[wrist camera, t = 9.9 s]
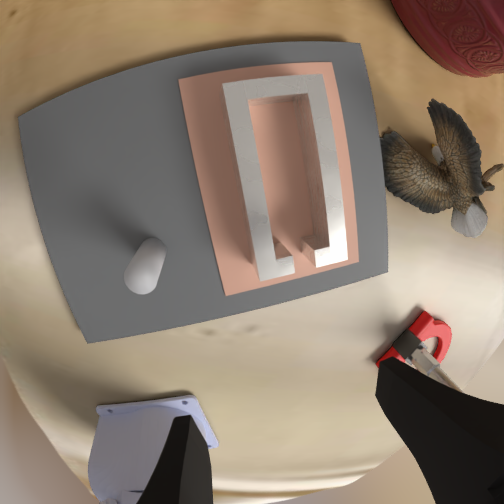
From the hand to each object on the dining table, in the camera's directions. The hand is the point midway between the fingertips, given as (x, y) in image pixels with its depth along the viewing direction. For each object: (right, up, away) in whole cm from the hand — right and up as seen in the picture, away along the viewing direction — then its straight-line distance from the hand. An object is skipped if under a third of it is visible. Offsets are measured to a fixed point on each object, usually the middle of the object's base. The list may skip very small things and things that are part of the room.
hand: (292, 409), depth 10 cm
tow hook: (+15, -4, +16) cm, 22 cm away
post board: (-4, +9, +7) cm, 13 cm away
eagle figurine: (+11, +12, +9) cm, 19 cm away
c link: (0, +10, +7) cm, 12 cm away
